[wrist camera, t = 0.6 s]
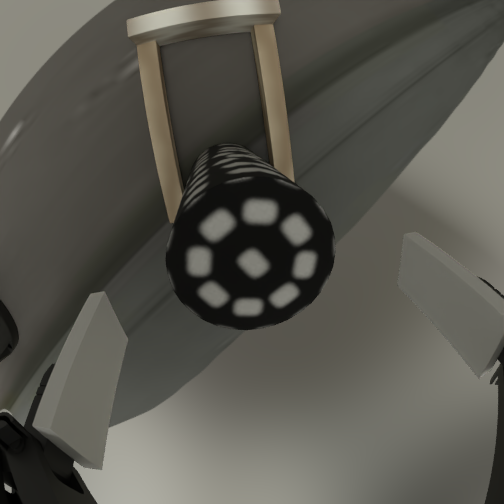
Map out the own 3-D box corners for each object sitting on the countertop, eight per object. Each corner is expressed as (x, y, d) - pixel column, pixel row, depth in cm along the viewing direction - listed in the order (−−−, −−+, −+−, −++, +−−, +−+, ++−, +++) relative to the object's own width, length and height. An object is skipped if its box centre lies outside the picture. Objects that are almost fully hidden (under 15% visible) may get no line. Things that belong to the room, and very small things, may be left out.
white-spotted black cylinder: (277, 183, 32) (361, 266, 15) (223, 227, 34) (242, 351, 16) (232, 128, 29) (269, 136, 11) (175, 176, 30) (130, 259, 13)
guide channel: (172, 215, 32) (165, 235, 27) (140, 36, 22) (126, 20, 17) (290, 194, 33) (305, 209, 28) (265, 16, 23) (277, -3, 18)
